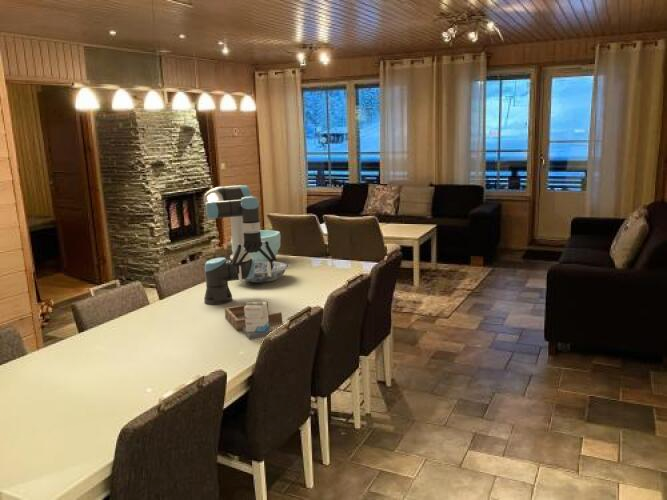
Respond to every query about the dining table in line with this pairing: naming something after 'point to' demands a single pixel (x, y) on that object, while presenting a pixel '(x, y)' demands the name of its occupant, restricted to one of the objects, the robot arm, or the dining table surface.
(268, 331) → the plinth
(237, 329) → the brown wooden shallow tray
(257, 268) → the ceramic bowl
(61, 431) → the dining table surface
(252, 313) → the ink box
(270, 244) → the bowl
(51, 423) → the dining table surface
